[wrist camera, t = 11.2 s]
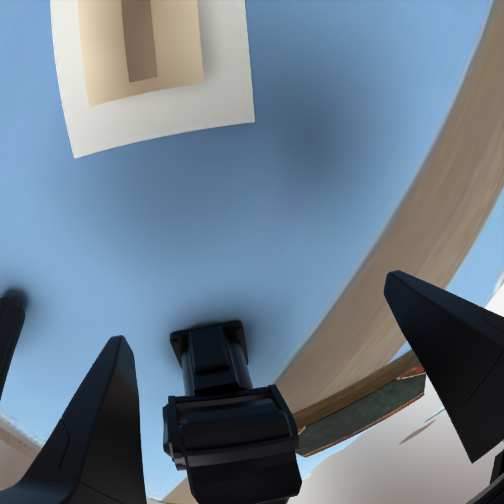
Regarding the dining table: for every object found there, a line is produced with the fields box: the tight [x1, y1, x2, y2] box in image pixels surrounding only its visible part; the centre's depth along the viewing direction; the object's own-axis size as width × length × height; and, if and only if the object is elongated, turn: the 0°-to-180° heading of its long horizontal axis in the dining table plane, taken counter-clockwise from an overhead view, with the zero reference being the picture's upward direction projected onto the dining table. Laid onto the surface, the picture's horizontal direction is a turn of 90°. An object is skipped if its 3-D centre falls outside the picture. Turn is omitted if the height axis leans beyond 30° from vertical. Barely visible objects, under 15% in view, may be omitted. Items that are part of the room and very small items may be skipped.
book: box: [292, 350, 426, 457], centre depth 44 cm, size 17×4×25 cm
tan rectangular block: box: [78, 0, 204, 107], centre depth 11 cm, size 5×8×4 cm, turn 4°
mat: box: [50, 0, 255, 159], centre depth 13 cm, size 14×11×1 cm
